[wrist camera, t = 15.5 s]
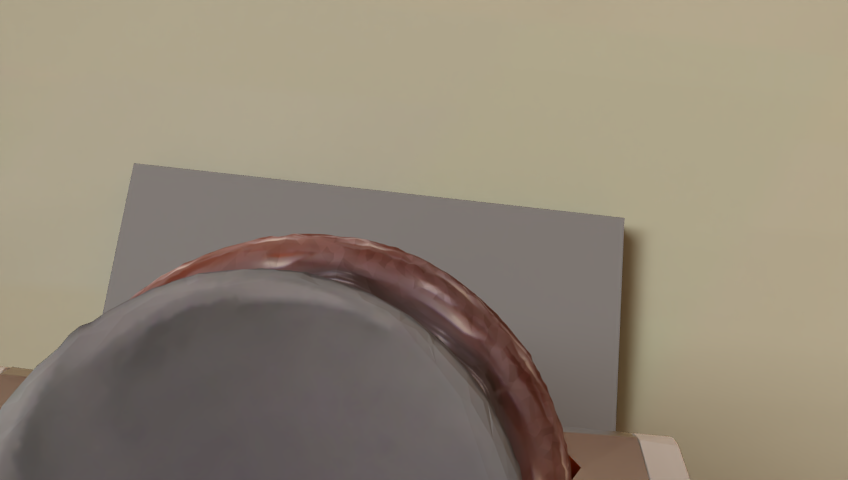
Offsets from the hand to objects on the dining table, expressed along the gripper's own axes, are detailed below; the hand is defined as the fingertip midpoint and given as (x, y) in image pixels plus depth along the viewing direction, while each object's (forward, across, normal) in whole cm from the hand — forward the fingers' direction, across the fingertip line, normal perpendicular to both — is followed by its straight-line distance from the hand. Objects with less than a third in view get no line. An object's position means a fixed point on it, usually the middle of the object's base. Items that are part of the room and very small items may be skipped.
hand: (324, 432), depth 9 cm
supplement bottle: (+4, 0, +5) cm, 7 cm away
